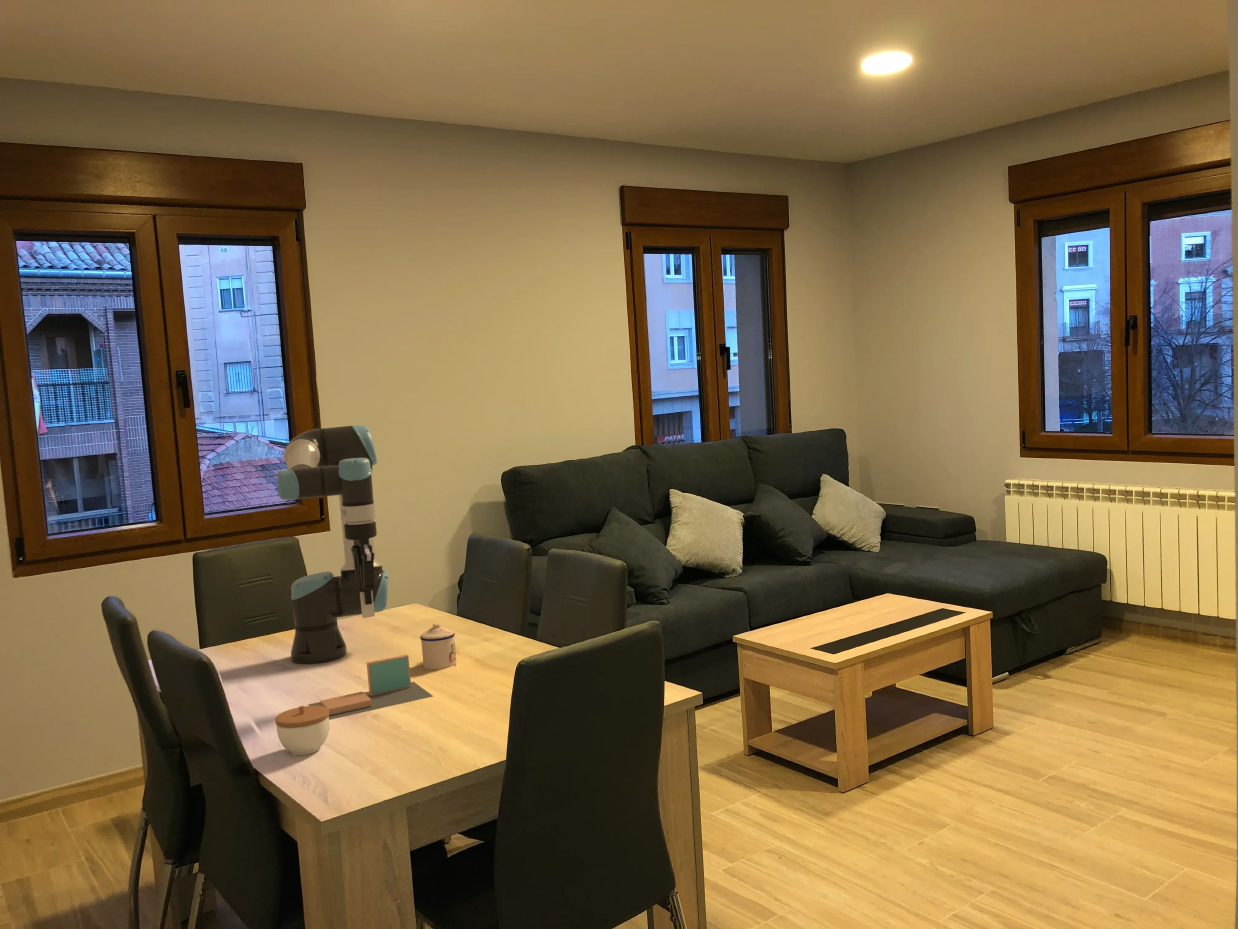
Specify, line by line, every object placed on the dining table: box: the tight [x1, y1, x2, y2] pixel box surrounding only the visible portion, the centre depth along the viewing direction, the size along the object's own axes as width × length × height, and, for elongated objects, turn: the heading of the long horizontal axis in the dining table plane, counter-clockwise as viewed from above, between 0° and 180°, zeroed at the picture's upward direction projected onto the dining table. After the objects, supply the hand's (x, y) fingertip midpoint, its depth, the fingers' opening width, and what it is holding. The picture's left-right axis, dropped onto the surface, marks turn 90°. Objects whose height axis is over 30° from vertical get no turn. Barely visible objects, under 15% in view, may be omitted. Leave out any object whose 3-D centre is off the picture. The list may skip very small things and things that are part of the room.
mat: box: [307, 681, 434, 721], centre depth 238 cm, size 15×26×1 cm, turn 120°
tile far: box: [366, 653, 412, 696], centre depth 244 cm, size 2×10×8 cm, turn 120°
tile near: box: [319, 691, 372, 715], centre depth 234 cm, size 2×10×8 cm
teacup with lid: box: [419, 622, 457, 671], centre depth 265 cm, size 12×9×12 cm
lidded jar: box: [274, 705, 330, 756], centre depth 208 cm, size 11×11×9 cm
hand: (368, 616), depth 245 cm, fingers closed
